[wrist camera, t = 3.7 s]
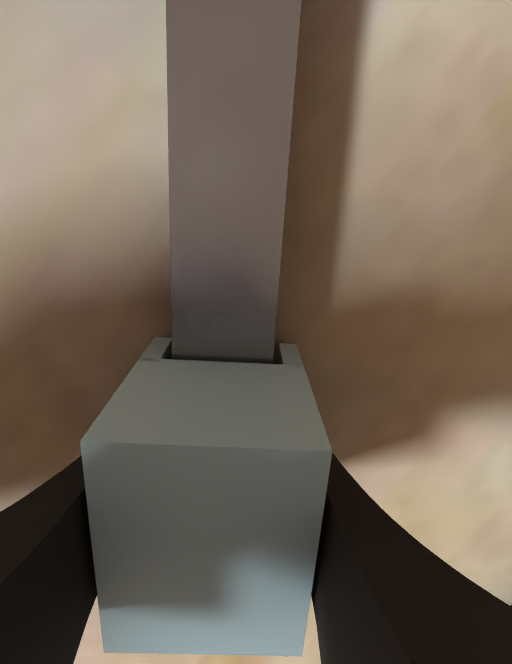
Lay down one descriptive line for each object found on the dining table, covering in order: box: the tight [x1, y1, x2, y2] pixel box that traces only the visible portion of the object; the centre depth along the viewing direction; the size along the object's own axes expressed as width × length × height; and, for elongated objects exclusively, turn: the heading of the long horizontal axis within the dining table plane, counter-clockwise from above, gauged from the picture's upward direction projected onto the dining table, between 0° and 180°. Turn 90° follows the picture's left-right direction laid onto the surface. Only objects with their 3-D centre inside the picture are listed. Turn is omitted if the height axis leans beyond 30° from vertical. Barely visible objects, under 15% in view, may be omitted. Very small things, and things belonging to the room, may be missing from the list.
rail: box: [166, 0, 302, 364], centre depth 11 cm, size 5×22×3 cm, turn 177°
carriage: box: [80, 337, 332, 656], centre depth 11 cm, size 5×6×6 cm
